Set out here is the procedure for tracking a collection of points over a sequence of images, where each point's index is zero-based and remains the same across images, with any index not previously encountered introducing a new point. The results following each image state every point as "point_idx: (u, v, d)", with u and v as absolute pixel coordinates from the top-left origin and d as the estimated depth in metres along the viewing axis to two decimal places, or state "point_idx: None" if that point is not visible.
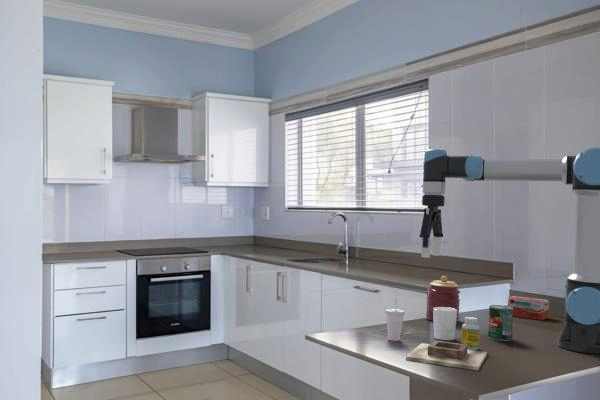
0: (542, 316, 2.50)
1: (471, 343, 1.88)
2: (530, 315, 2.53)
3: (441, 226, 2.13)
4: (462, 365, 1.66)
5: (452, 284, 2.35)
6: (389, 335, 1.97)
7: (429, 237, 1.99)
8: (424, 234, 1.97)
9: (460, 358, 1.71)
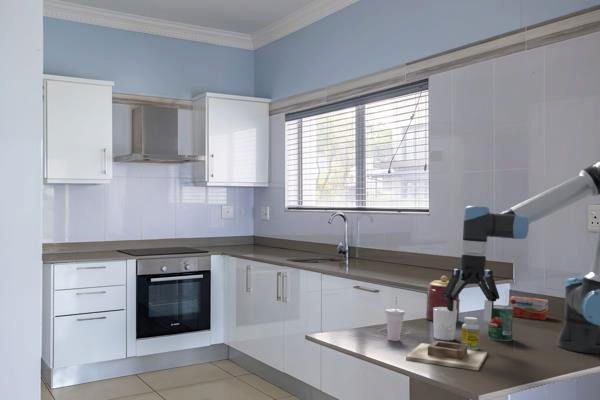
0: (544, 316, 2.50)
1: (471, 343, 1.88)
2: (532, 315, 2.52)
3: (495, 289, 1.93)
4: (462, 365, 1.66)
5: None
6: (389, 335, 1.97)
7: (453, 300, 1.87)
8: (444, 296, 1.87)
9: (460, 358, 1.71)
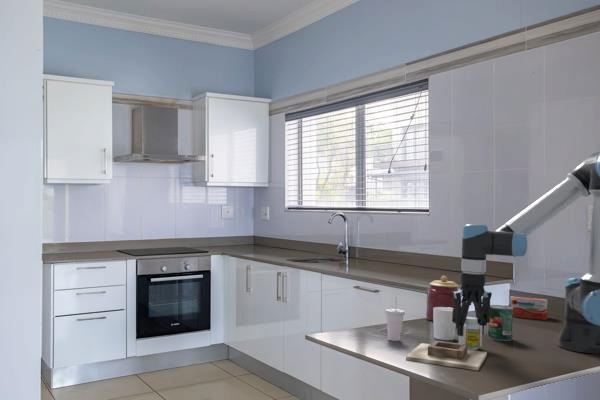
0: (546, 316, 2.51)
1: (471, 343, 1.88)
2: (534, 315, 2.52)
3: (488, 312, 1.92)
4: (462, 365, 1.66)
5: (452, 284, 2.35)
6: (389, 335, 1.97)
7: (463, 325, 1.89)
8: (454, 321, 1.89)
9: (460, 358, 1.71)
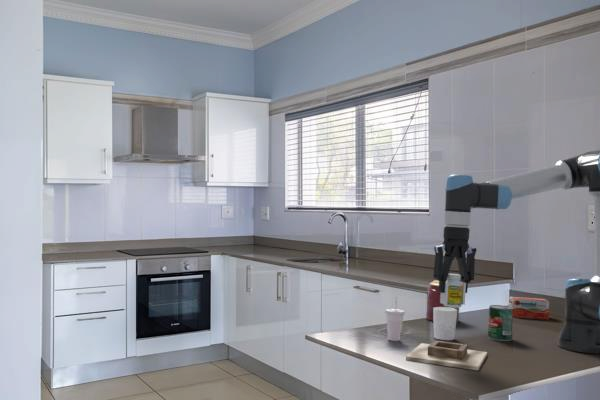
0: (548, 315, 2.52)
1: (453, 300, 1.77)
2: (536, 315, 2.52)
3: (473, 269, 1.81)
4: (462, 365, 1.66)
5: None
6: (389, 335, 1.97)
7: (445, 281, 1.78)
8: (436, 277, 1.78)
9: (460, 358, 1.71)
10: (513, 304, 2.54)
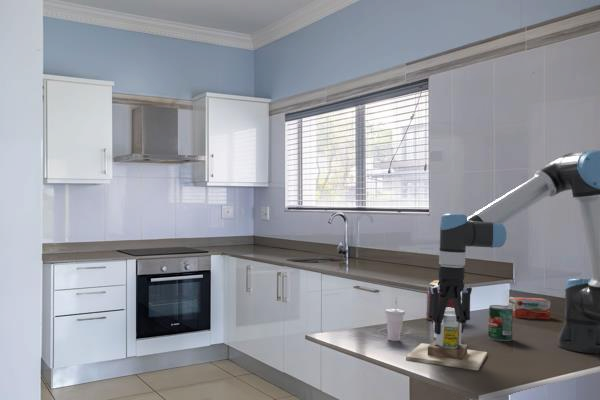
0: (549, 315, 2.53)
1: (449, 342, 1.75)
2: (538, 315, 2.53)
3: (468, 309, 1.78)
4: (462, 365, 1.66)
5: None
6: (389, 335, 1.97)
7: (441, 322, 1.75)
8: (431, 319, 1.75)
9: (460, 358, 1.71)
10: (516, 305, 2.53)
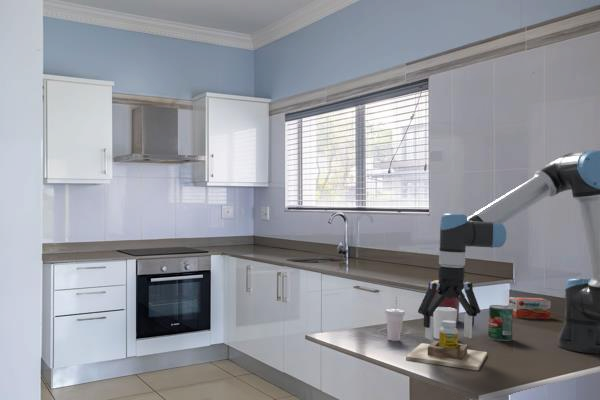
0: (549, 315, 2.53)
1: None
2: (538, 315, 2.53)
3: (476, 303, 1.79)
4: (462, 365, 1.66)
5: None
6: (389, 335, 1.97)
7: (430, 316, 1.73)
8: (420, 312, 1.73)
9: (460, 358, 1.71)
10: (517, 305, 2.52)
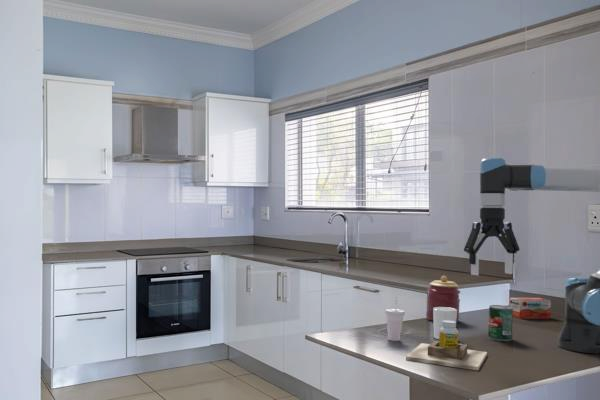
0: (549, 315, 2.55)
1: None
2: (540, 315, 2.53)
3: (515, 241, 1.93)
4: (462, 365, 1.66)
5: (452, 284, 2.35)
6: (389, 335, 1.97)
7: (475, 253, 1.86)
8: (466, 250, 1.86)
9: (460, 358, 1.71)
10: (521, 305, 2.51)
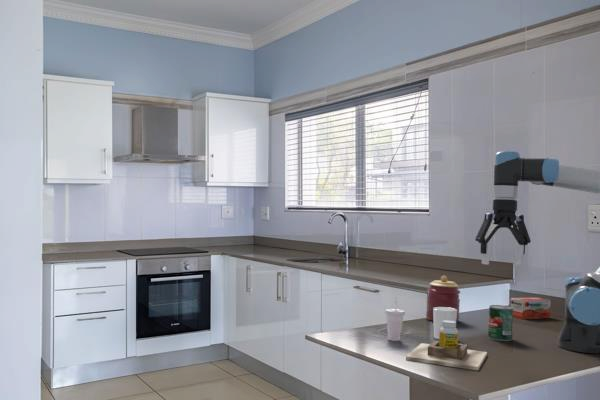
0: (549, 314, 2.56)
1: None
2: (541, 315, 2.54)
3: (526, 233, 1.97)
4: (462, 365, 1.66)
5: (452, 284, 2.35)
6: (389, 335, 1.97)
7: (486, 243, 1.92)
8: (478, 239, 1.92)
9: (460, 358, 1.71)
10: (524, 306, 2.50)
